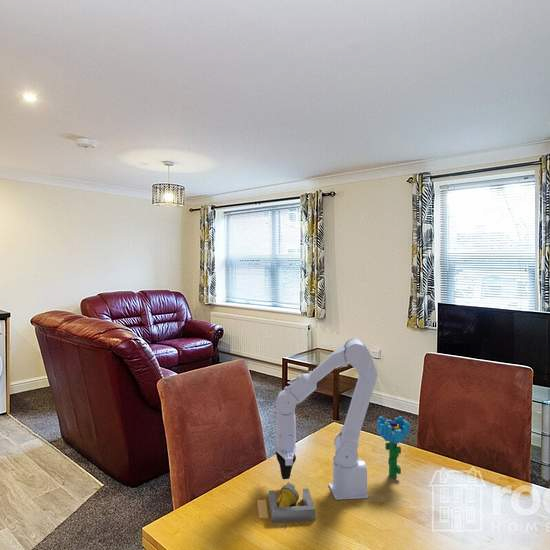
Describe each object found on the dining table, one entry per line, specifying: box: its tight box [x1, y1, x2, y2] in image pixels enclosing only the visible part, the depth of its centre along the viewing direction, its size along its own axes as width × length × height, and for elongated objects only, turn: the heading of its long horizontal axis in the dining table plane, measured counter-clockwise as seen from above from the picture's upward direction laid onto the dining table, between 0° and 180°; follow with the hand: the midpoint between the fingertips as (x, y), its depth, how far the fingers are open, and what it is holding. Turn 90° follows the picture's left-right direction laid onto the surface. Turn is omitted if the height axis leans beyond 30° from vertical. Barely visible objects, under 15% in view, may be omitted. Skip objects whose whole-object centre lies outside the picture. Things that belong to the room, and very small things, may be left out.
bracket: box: [268, 488, 316, 524], centre depth 107 cm, size 11×10×3 cm
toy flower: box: [376, 415, 411, 479], centre depth 124 cm, size 9×9×18 cm
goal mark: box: [257, 499, 269, 519], centre depth 108 cm, size 2×8×1 cm, turn 6°
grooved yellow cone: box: [278, 481, 300, 507], centre depth 109 cm, size 5×5×10 cm
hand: (285, 477), depth 118 cm, fingers closed
